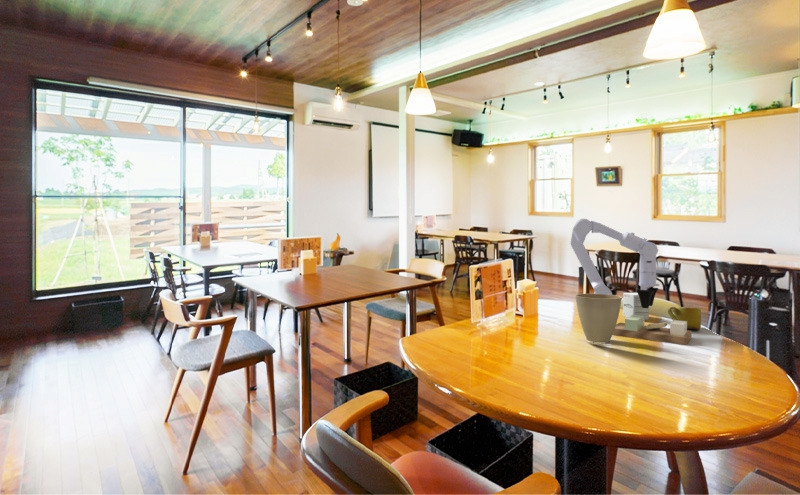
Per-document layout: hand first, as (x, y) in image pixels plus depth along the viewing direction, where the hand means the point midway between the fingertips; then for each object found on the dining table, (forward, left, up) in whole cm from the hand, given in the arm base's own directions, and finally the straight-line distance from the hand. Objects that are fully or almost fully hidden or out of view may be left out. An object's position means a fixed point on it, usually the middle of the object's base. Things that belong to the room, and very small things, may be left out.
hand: (647, 306), depth 169 cm
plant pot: (-10, -30, -10) cm, 33 cm away
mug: (+11, +9, -10) cm, 17 cm away
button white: (+12, -11, -7) cm, 18 cm away
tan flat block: (+5, -10, -5) cm, 12 cm away
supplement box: (-7, +15, -10) cm, 19 cm away
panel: (+3, -10, -9) cm, 14 cm away
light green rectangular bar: (-2, -11, -7) cm, 13 cm away
